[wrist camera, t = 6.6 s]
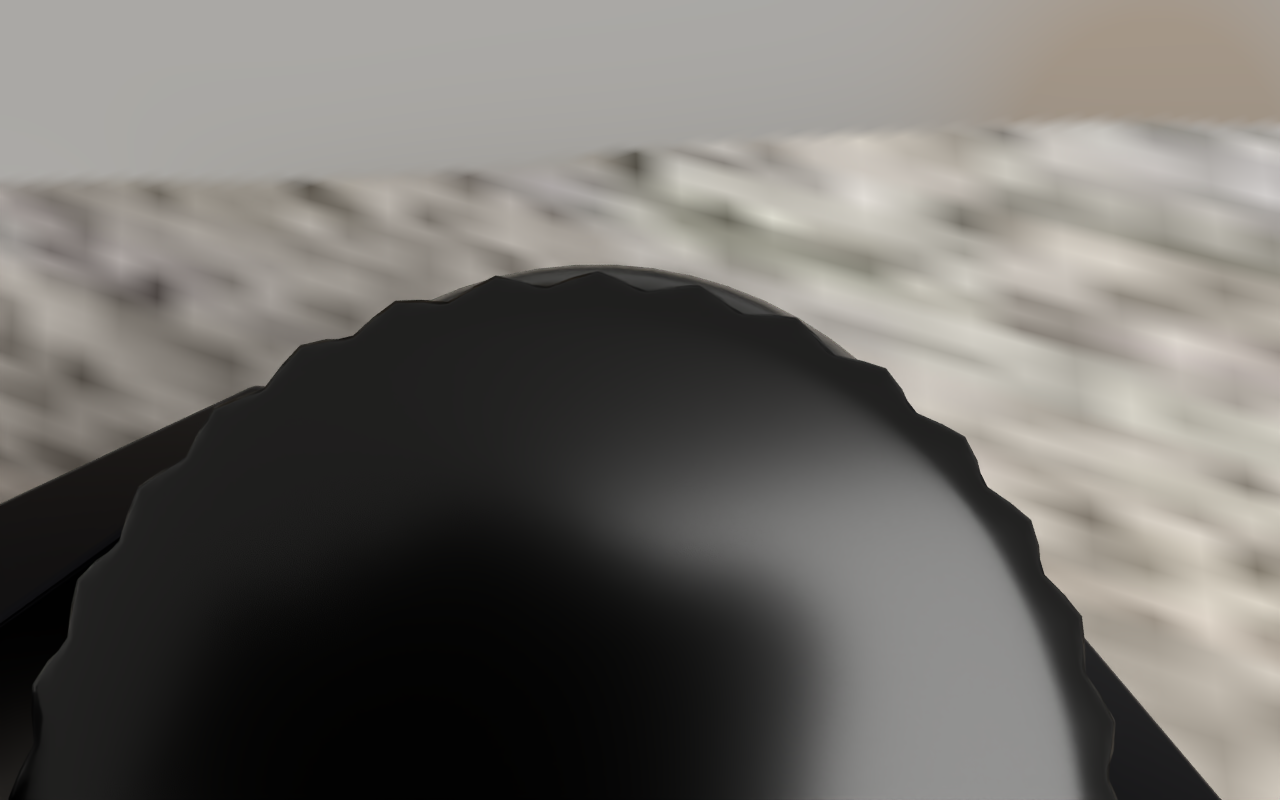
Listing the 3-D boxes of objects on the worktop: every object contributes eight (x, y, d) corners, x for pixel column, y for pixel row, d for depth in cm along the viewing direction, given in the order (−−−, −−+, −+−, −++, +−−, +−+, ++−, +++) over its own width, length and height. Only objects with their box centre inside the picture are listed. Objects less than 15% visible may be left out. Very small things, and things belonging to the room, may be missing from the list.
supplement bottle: (394, 411, 16) (-252, 87, 4) (778, 370, 16) (1226, -45, 4) (425, 821, 15) (-290, 1937, 3) (832, 770, 15) (1575, 1625, 3)
